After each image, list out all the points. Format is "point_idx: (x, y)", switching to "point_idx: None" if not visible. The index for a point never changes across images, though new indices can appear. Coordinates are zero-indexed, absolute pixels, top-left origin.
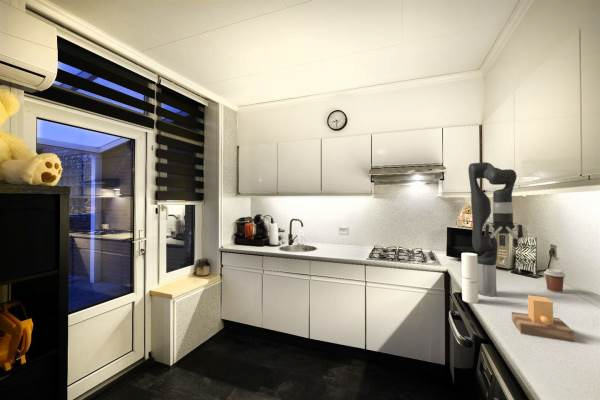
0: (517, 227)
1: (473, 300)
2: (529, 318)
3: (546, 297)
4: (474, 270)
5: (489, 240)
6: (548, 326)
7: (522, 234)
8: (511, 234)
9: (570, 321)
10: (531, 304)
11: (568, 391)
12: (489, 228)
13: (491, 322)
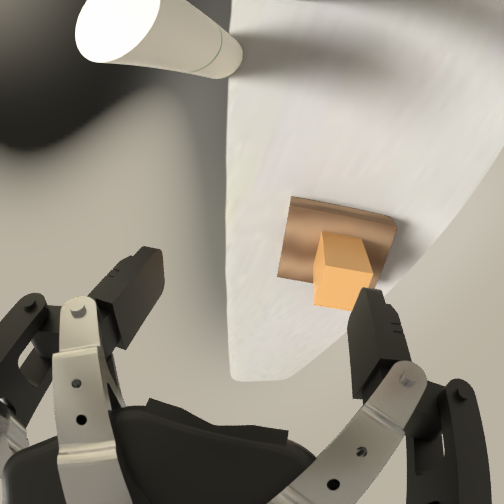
0: None
1: (219, 77)
2: (316, 243)
3: (372, 275)
4: (178, 62)
5: (102, 287)
6: None
7: (432, 454)
8: (318, 455)
9: (441, 176)
10: (317, 278)
11: (262, 378)
12: (20, 426)
13: (233, 216)
